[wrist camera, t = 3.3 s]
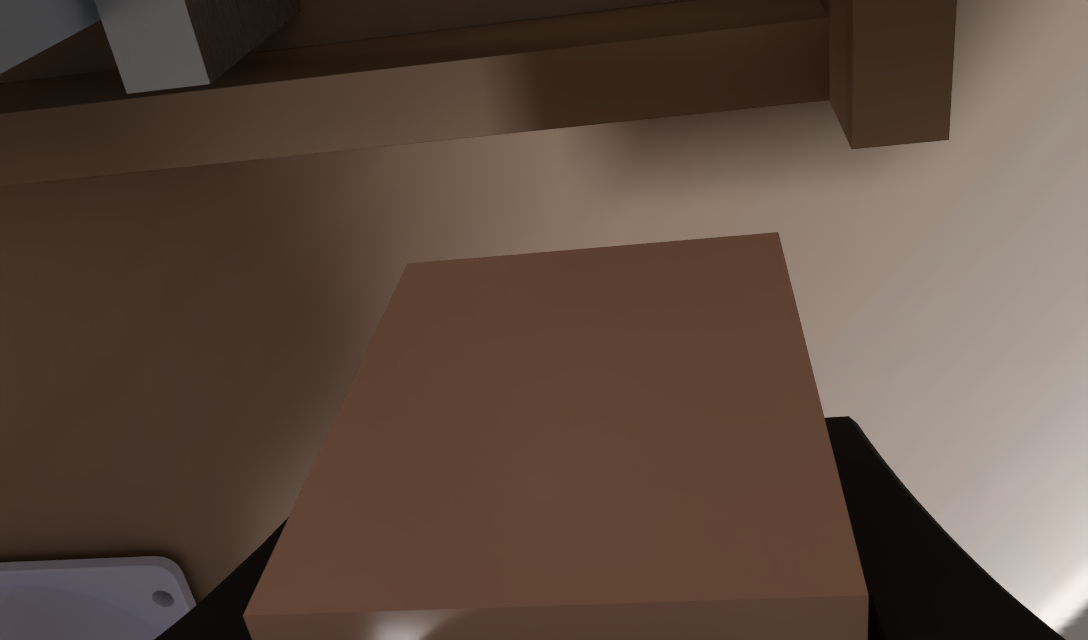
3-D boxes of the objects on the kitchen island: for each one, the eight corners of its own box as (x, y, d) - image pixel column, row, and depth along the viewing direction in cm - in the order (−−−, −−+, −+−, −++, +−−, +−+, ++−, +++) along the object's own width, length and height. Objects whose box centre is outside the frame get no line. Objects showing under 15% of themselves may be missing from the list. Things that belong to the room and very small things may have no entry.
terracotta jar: (786, 527, 16) (872, 1034, 10) (470, 540, 16) (360, 1019, 10) (778, 232, 13) (884, 656, 7) (407, 264, 14) (216, 673, 8)
